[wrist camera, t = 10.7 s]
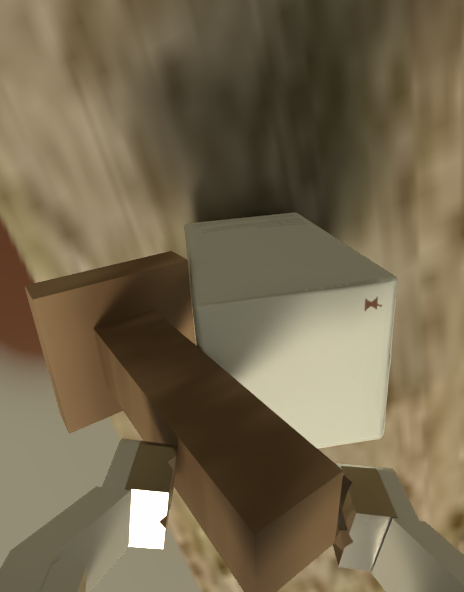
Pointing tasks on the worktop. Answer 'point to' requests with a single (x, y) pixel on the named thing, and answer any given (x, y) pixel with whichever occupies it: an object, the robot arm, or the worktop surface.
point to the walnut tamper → (188, 414)
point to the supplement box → (295, 321)
